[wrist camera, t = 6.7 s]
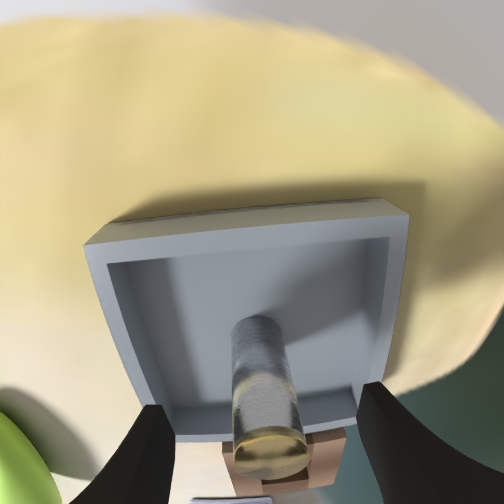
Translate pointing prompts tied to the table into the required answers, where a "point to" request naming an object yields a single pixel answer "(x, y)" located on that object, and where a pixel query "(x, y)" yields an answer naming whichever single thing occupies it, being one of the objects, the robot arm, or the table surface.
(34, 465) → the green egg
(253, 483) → the pin block
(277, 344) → the pin
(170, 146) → the table surface
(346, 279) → the tray
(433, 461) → the robot arm
